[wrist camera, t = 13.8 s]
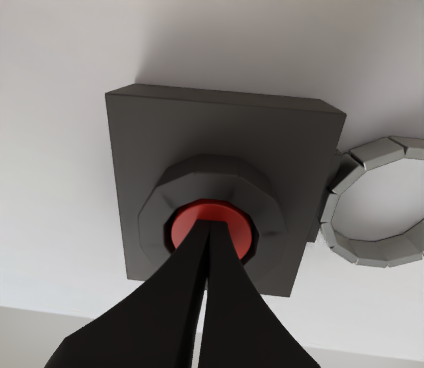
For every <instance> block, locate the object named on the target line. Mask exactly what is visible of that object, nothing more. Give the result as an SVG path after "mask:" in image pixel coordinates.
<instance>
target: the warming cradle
mask: <svg viewBox="0 0 424 368" xmlns="http://www.w3.org/2000/svg"><path fill="white" fill-rule="evenodd" d="M350 154H351V156H350V155H349V154H348V153H345V154H344V155H343V154H342V153H341V152H340V151H339V150H338V149H337V148H336V151H335V154H334V157H333V160H332V163H331V167H330V170H329V173H328V176H327V179H326V183H325V186H324V189H323V192H322V195H321V199H320V202H319V205H318V208H317V211H316V214H315V218H314V221H313V224H312V227H311V230H310V234H309V237H308V240H307V242H313V243H314V242H315V240H316V237H317V234H318V231H319V228H320V231H321V233H322V235H323V237H324V239H325V241H326V243H327V245H328V247H330V249H331V250H332V251H333V252H335V253H337V254H338V255H340V256H341V257H343V258H344V259H346V260H347V261H349V262H350V263H355V264H356V265H363V266H373V267H382V268H386V266H387V265H388V267H394V266H398V265H402V264H406V263H410V262H414V261H418V260H422V255H423V256H424V220H422V221H421V222H420V223H418V224H417V225H415V226H414V227H413V228H411V229H410V230H408V231H407V232H406V233H404V234H402V235H398V236H395V237H391V238H388V239H384V240H381V241H377V242H368V241H358V240H349V239H347V238H345V237H344V236H342V235H341V234H339V233H338V232H336V231H335V230H333V227H332V224H331V219H332V217H333V214H334V211H335V208H336V205H337V202H338V200H339V197H340V195H341V194H342V193H343V192H344V191H345V190H346V189H347V188H349V187H350V186H351V185H352V184H353V183H354V182H355V181H356V180H357V179H359V178H360V177H361V176H362V175H363V174H364V173H365V172H366V171H369V170H371V169H374V168H377V167H380V166H383V165H386V164H389V163H391V162H394V161H397V160H400V159H403V158H408V159H419V160H424V139H416V138H404V137H393V136H389V137H388V139H387V138H386V137H384V138H381V139H378V140H376V141H373V142H370V143H368V144H365V145H362V146H360V147H357V148H354V149H352V150H350Z"/></svg>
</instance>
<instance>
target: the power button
mask: <svg viewBox="0 0 424 368" xmlns="http://www.w3.org/2000/svg"><path fill="white" fill-rule="evenodd" d="M197 219H204V220H216V221H226V222H227V223H228V228H229V232H230V236H231V239H232V242H233V244H234V247H235V249H236V252H237V254H238V256H239V259H241V258H242V257H243V256H244V255H245V254H246V253H247V251H248V250H249V248H250V245H251V241H252V232H251V222H250V215H249V214H247V213H246V212H244V211H243V210H241V209H239V208H238V207H236V206H235V205H233V204H231V203H230V202H228V201H224V200H214V199H204V198H201V199H198V200H196V201H193V202H190V203H188V204H185V205H183V206H180V207H179V208H178V211H177V214H176V217H175V219H174V222H173V225H172V229H171V237H172V241H173V244H174V246H175V248H177V247H178V246H179V245H180V243H181V242H182V241H183V239H184V238H185V237H186V235H187V234H188V232H189V231H190V229H191V228H192V226H193V224H194V222H195V221H196V220H197Z"/></svg>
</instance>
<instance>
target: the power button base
mask: <svg viewBox="0 0 424 368" xmlns="http://www.w3.org/2000/svg"><path fill="white" fill-rule="evenodd" d="M105 99H106V108H107V116H108V124H109V132H110V141H111V149H112V157H113V165H114V173H115V182H116V190H117V198H118V206H119V215H120V223H121V231H122V239H123V248H124V256H125V264H126V272H127V279H130V280H139V281H146V280H147V279H148V278H149V277H151V276H152V275H153V274H154V273H155V272H156V271H157V270H158V269H159V268H160V267H161V266H162V265H163V263H164V262H165V261H166V260H167V259H168V258H169V257H170V256H171V254H172V253H173V252H174V251H175V250H176V248H175V246H174V244H173V241H172V237H171V229H172V225H173V222H174V219H175V217H176V214H177V211H178V208H179V207H180V206H183V205H185V204H188V203H190V202H193V201H196V200H198V199H201V198H204V199H214V200H224V201H228V202H230V203H231V204H233V205H235V206H236V207H238V208H239V209H241V210H243V211H244V212H246V213H247V214H249V215H250V222H251V232H252V241H251V245H250V248H249V250H248V251H247V253H246V254H245V255H244V256H243V257H242V258H241V259H240V261H241V263H242V265H243V267H244V269H245V271H246V272H247V274H248V276H249V278H250V280H251V281H252V283H253V285H254V286H255V288H256V289H257V291H258V292H259V294H263V295H272V296H281V297H290V294H291V291H292V288H293V285H294V281H295V278H296V275H297V272H298V269H299V265H300V262H301V259H302V256H303V253H304V250H305V246H306V243H307V240H308V237H309V234H310V230H311V227H312V224H313V221H314V218H315V214H316V211H317V208H318V205H319V202H320V199H321V195H322V192H323V189H324V186H325V183H326V179H327V176H328V173H329V170H330V167H331V163H332V160H333V157H334V154H335V151H336V148H337V144H338V141H339V138H340V135H341V132H342V128H343V125H344V122H345V119H346V116H347V115H346V113H344V112H342V111H340V110H339V109H337V108H335V107H333V106H331V105H330V104H328V103H326V102H324V101H323V100H321V99H311V98H299V97H288V96H276V95H264V94H252V93H240V92H228V91H216V90H205V89H193V88H181V87H169V86H157V85H145V84H132V85H128V86H125V87H122V88H119V89H116V90H113V91H110V92H107V93H105ZM205 290H207V281H206V286H205Z"/></svg>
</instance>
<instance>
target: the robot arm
mask: <svg viewBox="0 0 424 368" xmlns="http://www.w3.org/2000/svg"><path fill="white" fill-rule="evenodd" d="M206 281H207V303H206V311H205V318H204V326H203V334H202V342H201V349H200V356H199V363H198V368H321V367H320V366H319V364H317V362H316V361H315V360H314V359H313V358H312V357H311V356H310V355H309V354H308V353H307V352H306V351H305V350H304V349H303V348H302V346H301V345H300V344H299V343H298V342H297V341H296V340H295V339H294V338H293V337H292V335H291V334H290V333H289V332H288V331H287V330H286V328H285V327H284V326H283V325H282V324H281V322H280V321H279V320H278V318H277V317H276V316H275V314H274V313H273V312H272V311H271V309H270V308H269V307H268V305H267V304H266V303H265V301H264V300H263V298H262V297H261V295H260V294H259V292H258V291H257V289H256V288H255V286H254V285H253V283H252V281H251V280H250V278H249V276H248V274H247V272H246V271H245V269H244V267H243V265H242V263H241V261H240V259H239V256H238V254H237V252H236V249H235V247H234V244H233V242H232V239H231V236H230V232H229V228H228V223H227V222H226V221H216V220H204V219H197V220H196V221H195V222H194V224H193V226H192V228H191V229H190V231H189V232H188V234H187V235H186V237H185V238H184V239H183V241H182V242H181V243H180V245H179V246H178V247H177V248H176V250H175V251H174V252H173V253H172V254H171V256H170V257H169V258H168V259H167V260H166V261H165V262H164V263H163V265H162V266H161V267H160V268H159V269H158V270H157V271H156V272H155V273H154V274H153V275H152V276H151V277H149V278H148V279H147V280H146V281H145V282H144V283H143V284H142V285H140V286H139V287H138V288H137V289H136V290H135V291H133V292H132V293H131V294H130V295H129V296H127V297H126V298H125V299H123V300H122V301H121V302H119V303H118V304H116V305H115V306H114V307H112V308H111V309H110V310H108V311H107V312H105V313H104V314H103V315H101V316H100V317H98V318H97V319H95V320H93V321H92V322H90V323H89V324H87V325H85V326H84V327H82V328H81V329H79V330H77V331H76V332H74V333H72V334H71V335H69V336H67V337H66V338H65V339H64V340H63V341H62V343H61V344H60V345H59V347H58V348H57V349H56V351H55V352H54V353H53V355H52V356H51V358H50V359H49V361H48V362H47V364H46V365H45V367H44V368H191V366H192V358H193V350H194V342H195V334H196V329H197V324H198V319H199V314H200V309H201V305H202V300H203V295H204V290H205V286H206Z"/></svg>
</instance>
